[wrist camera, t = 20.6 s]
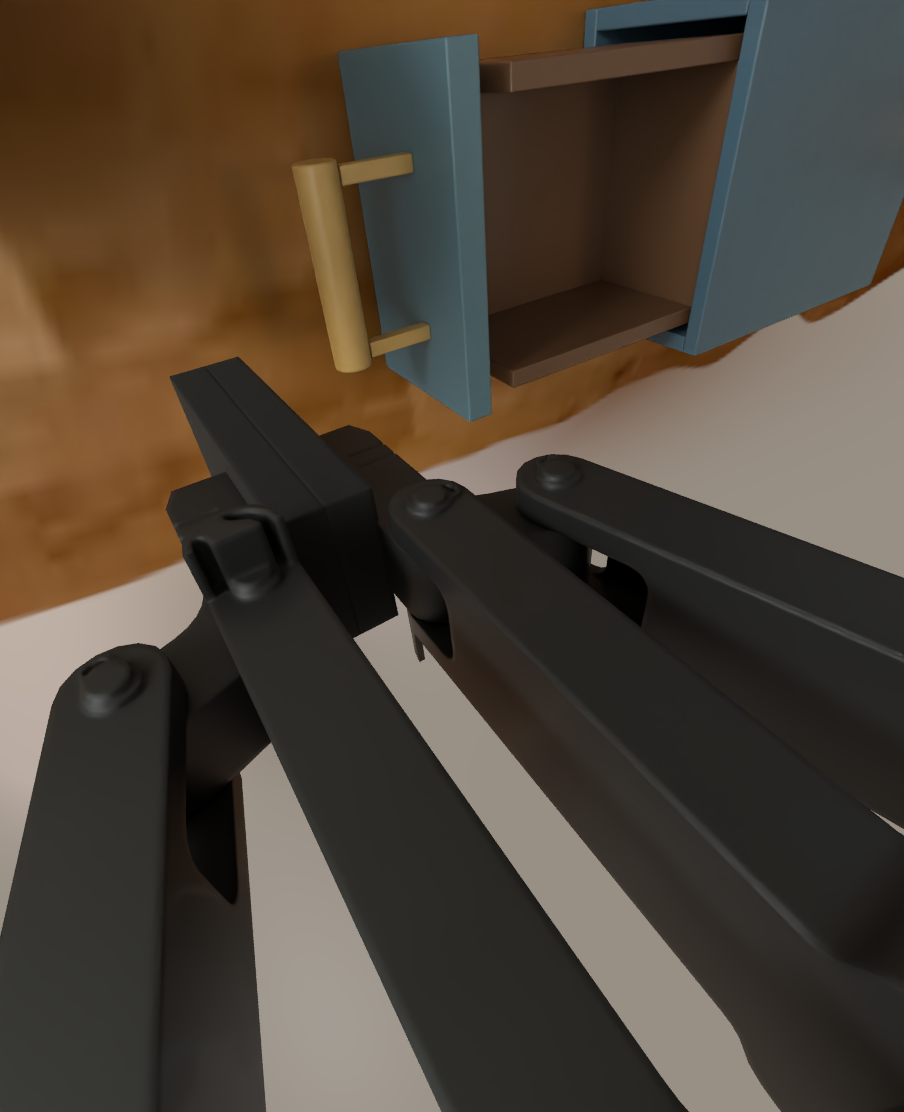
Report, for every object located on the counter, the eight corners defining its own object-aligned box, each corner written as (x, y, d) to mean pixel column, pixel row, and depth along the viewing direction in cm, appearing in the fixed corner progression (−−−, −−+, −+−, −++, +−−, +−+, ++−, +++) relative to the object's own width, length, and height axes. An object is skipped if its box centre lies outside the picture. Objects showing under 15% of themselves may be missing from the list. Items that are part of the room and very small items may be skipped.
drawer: (308, 392, 28) (380, 457, 23) (223, 62, 20) (304, 50, 15) (595, 299, 35) (699, 333, 30) (618, 23, 27) (767, 6, 22)
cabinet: (568, 310, 36) (694, 356, 29) (585, 10, 27) (771, -18, 20) (735, 256, 41) (871, 284, 35) (794, -8, 32) (992, -34, 26)
